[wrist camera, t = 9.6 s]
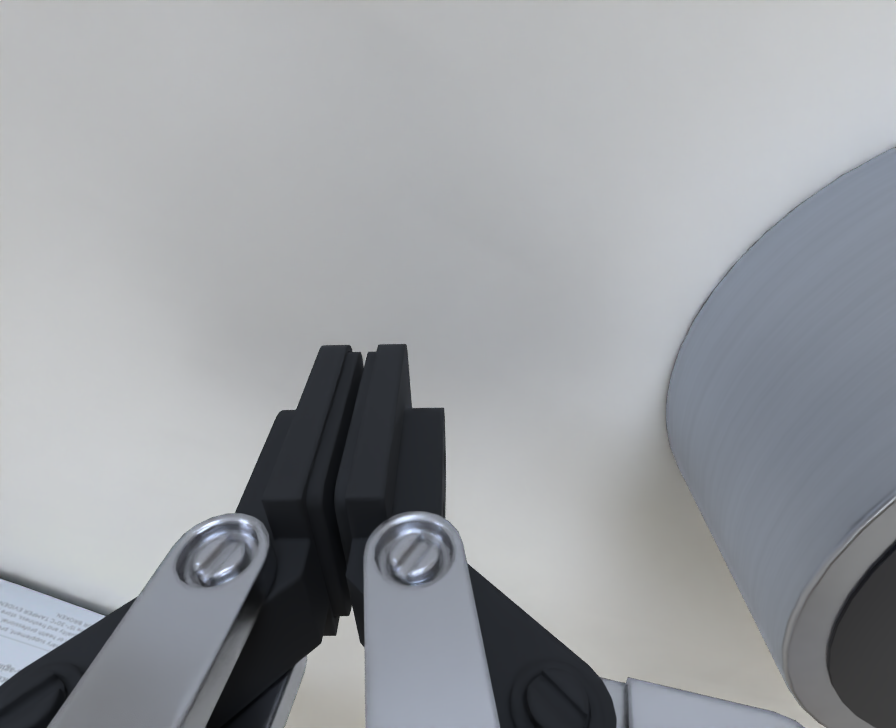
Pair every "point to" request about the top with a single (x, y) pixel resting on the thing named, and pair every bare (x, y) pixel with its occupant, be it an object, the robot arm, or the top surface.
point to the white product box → (35, 626)
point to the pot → (805, 441)
